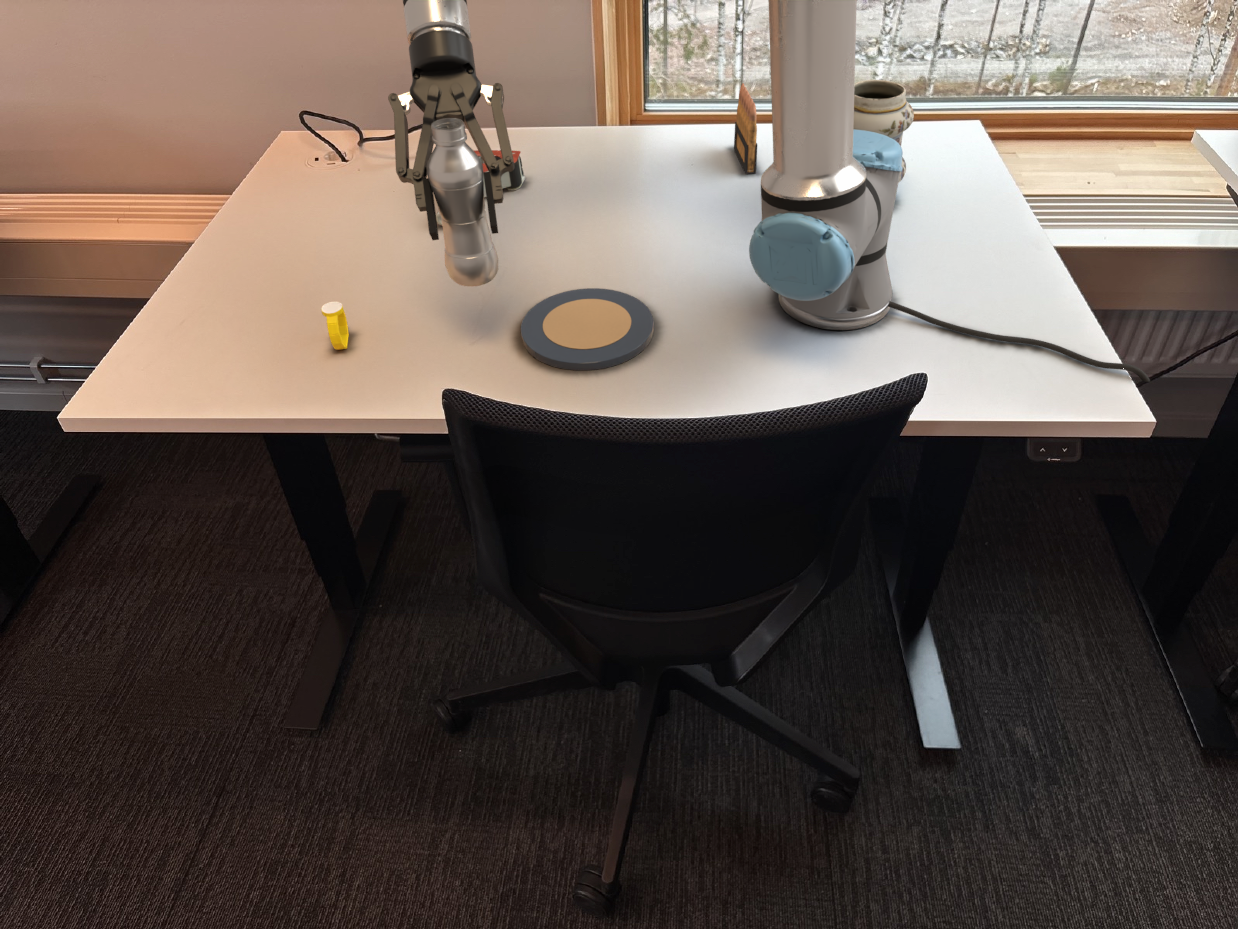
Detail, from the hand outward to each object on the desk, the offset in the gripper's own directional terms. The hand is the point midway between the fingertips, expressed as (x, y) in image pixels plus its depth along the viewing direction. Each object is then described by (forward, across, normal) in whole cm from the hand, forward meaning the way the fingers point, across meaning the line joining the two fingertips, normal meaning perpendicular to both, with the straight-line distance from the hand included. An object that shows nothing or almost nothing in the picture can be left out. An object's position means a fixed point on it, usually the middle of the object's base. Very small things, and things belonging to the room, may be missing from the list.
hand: (464, 232), depth 106 cm
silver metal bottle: (+4, 0, -9) cm, 9 cm away
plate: (+10, -14, -16) cm, 23 cm away
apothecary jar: (-9, -62, -36) cm, 72 cm away
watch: (+8, +19, -18) cm, 28 cm away
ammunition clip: (-23, -47, -49) cm, 72 cm away
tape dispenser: (-21, +1, -47) cm, 52 cm away
